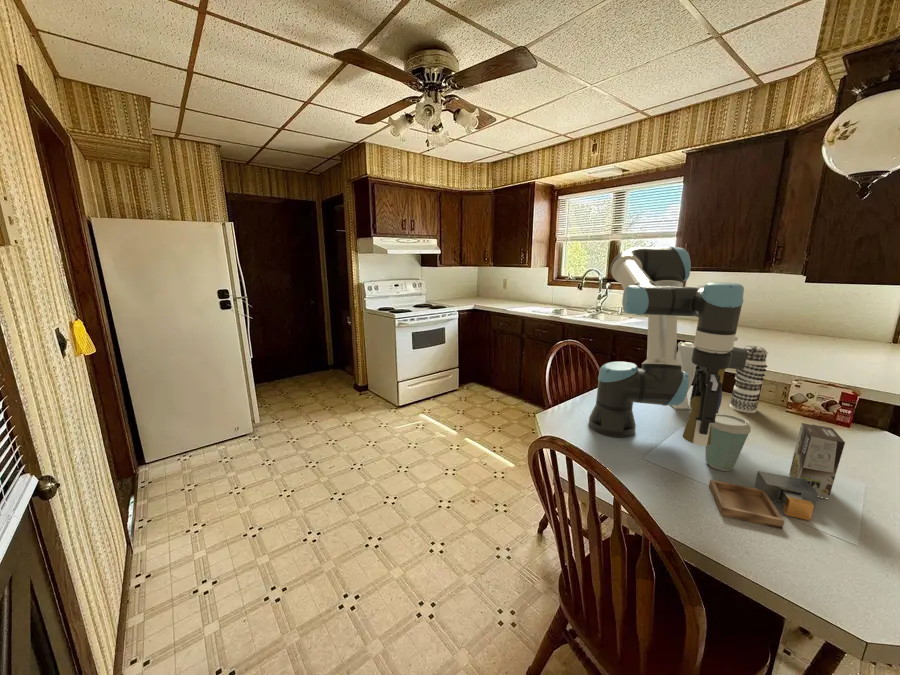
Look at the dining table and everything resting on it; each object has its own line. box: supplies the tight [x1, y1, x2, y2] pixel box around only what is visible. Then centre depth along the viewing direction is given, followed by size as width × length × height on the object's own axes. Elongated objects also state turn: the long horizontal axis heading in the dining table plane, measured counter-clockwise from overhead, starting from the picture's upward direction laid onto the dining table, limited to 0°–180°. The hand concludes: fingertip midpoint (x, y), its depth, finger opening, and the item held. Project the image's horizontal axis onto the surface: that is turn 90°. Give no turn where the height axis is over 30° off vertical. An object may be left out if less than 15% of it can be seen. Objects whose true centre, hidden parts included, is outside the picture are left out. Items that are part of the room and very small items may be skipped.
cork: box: [682, 396, 711, 445], centre depth 91 cm, size 6×6×11 cm
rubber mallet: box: [716, 346, 747, 414], centre depth 126 cm, size 12×8×30 cm, turn 54°
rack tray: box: [708, 479, 785, 530], centre depth 90 cm, size 12×12×2 cm
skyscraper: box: [670, 341, 696, 411], centre depth 143 cm, size 8×8×28 cm
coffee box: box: [788, 422, 846, 500], centre depth 96 cm, size 9×6×16 cm
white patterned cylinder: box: [729, 345, 769, 414], centre depth 142 cm, size 9×9×25 cm
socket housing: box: [754, 470, 818, 509], centre depth 93 cm, size 10×6×4 cm, turn 67°
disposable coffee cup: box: [705, 412, 752, 472], centre depth 106 cm, size 11×11×15 cm
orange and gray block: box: [778, 489, 815, 521], centre depth 91 cm, size 4×12×4 cm, turn 157°
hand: (696, 437), depth 92 cm, fingers closed on cork, 6 cm apart
